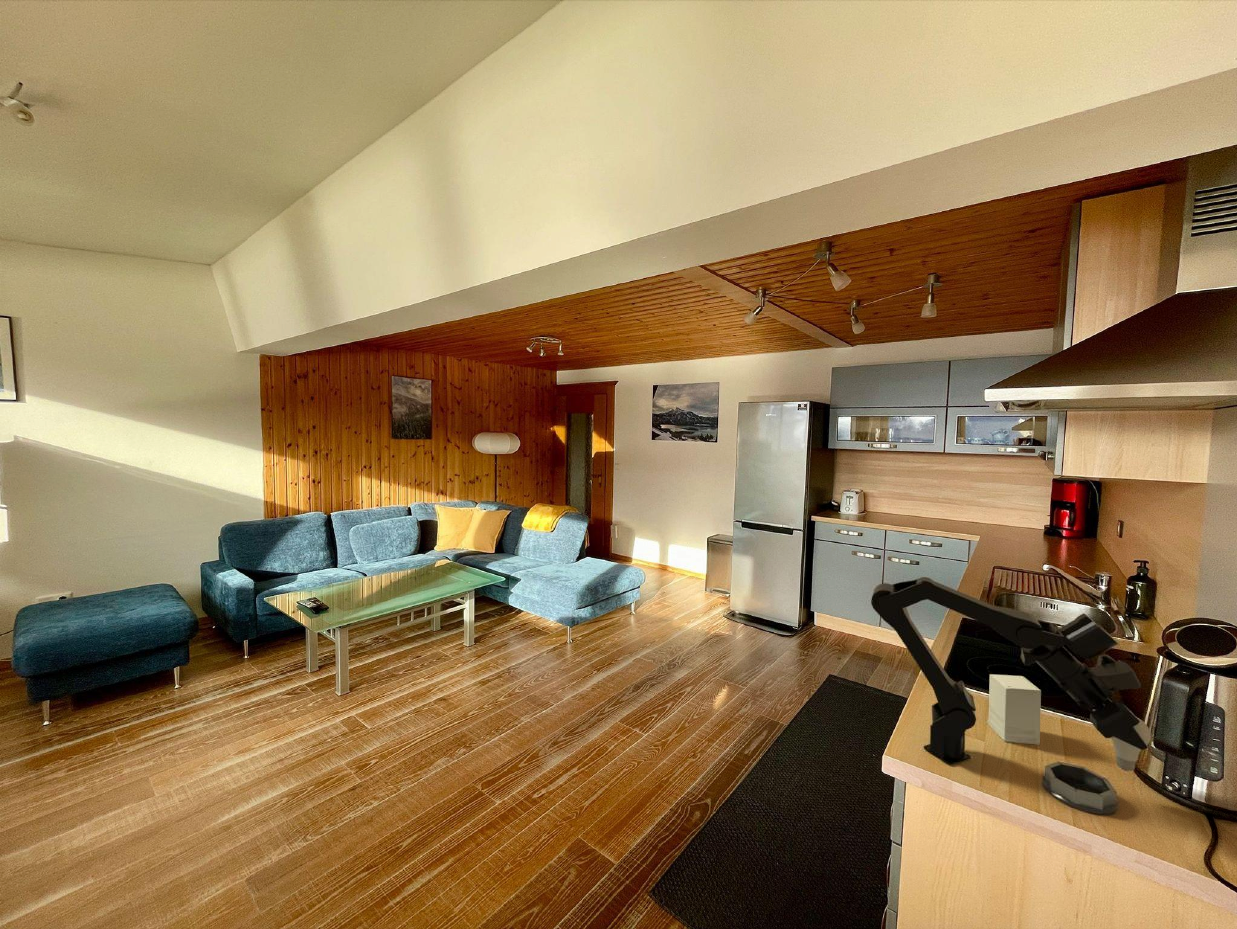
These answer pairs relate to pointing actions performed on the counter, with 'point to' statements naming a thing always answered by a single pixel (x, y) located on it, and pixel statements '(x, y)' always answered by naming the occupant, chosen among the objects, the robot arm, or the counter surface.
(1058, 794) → the collar
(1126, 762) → the lightbulb
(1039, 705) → the supplement box
